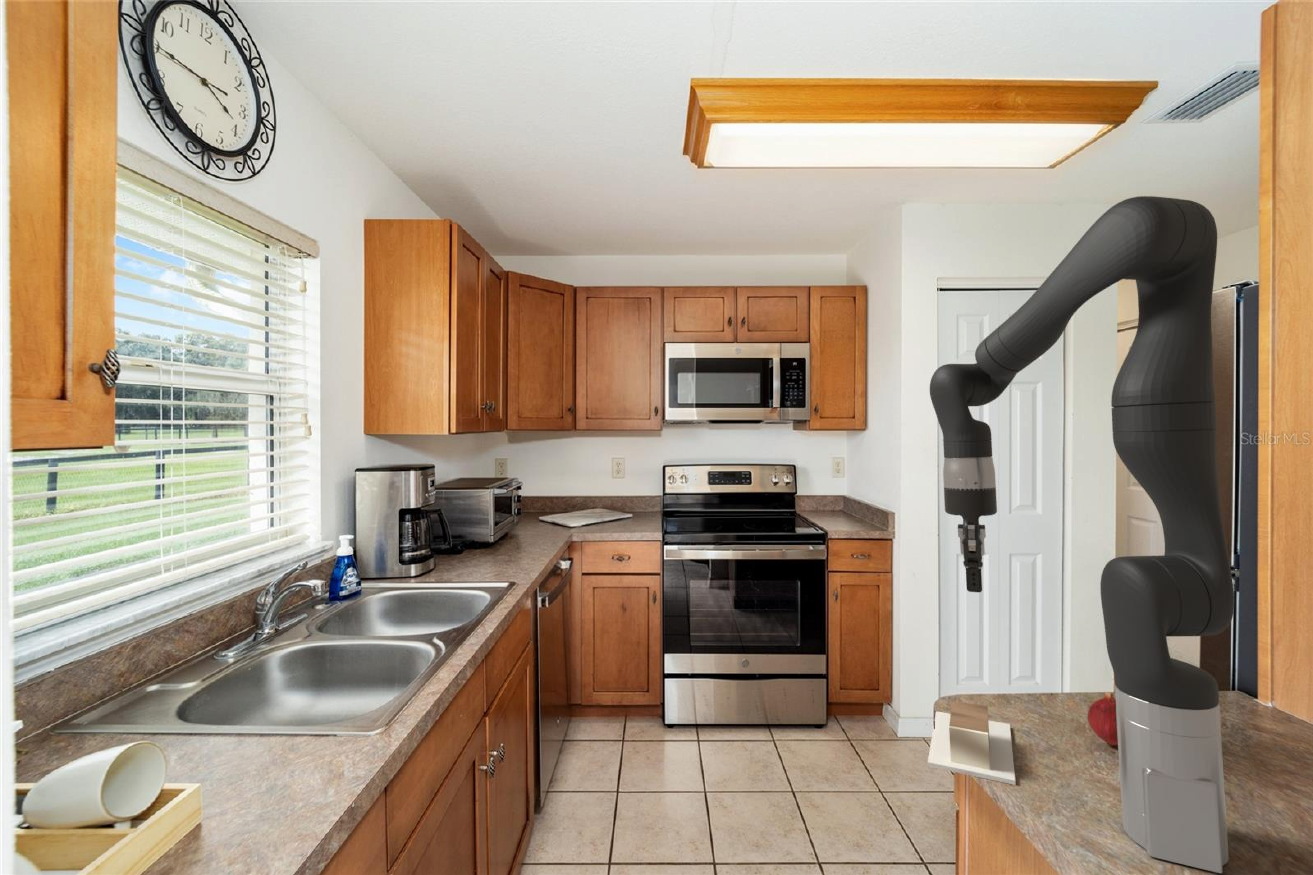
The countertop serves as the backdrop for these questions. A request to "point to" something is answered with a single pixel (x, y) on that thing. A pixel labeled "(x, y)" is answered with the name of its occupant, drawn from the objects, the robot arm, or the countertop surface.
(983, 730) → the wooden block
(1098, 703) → the onion
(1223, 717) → the countertop surface
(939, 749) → the mat
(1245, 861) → the countertop surface
